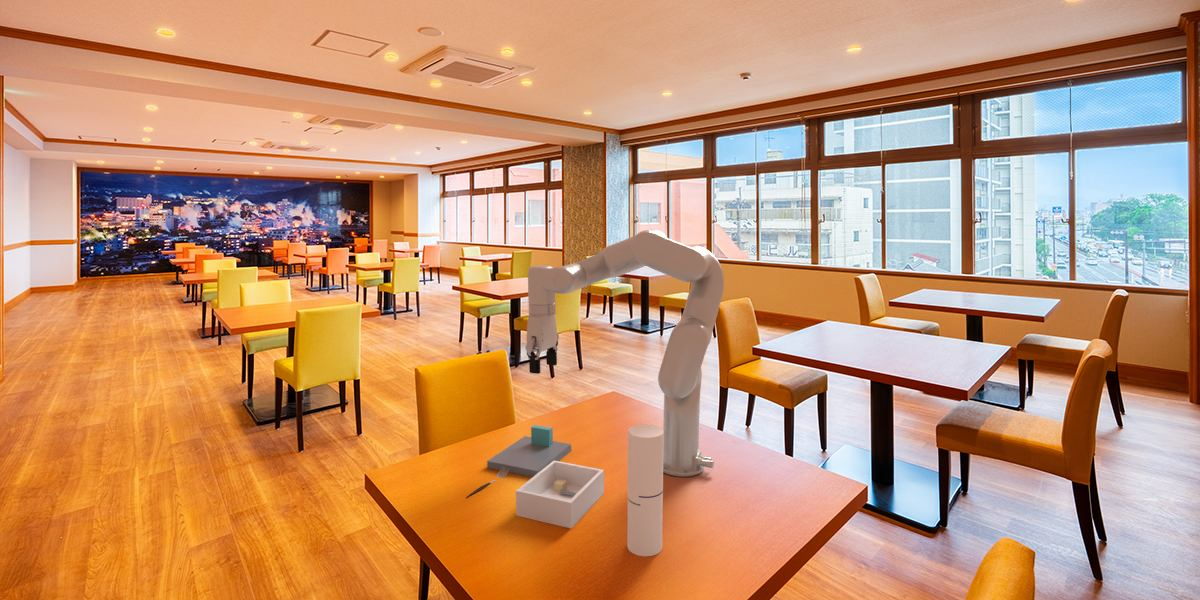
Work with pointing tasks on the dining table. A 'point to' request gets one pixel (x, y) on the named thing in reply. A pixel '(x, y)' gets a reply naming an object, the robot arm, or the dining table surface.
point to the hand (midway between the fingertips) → (543, 368)
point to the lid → (530, 453)
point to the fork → (488, 483)
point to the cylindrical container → (645, 489)
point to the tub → (560, 493)
